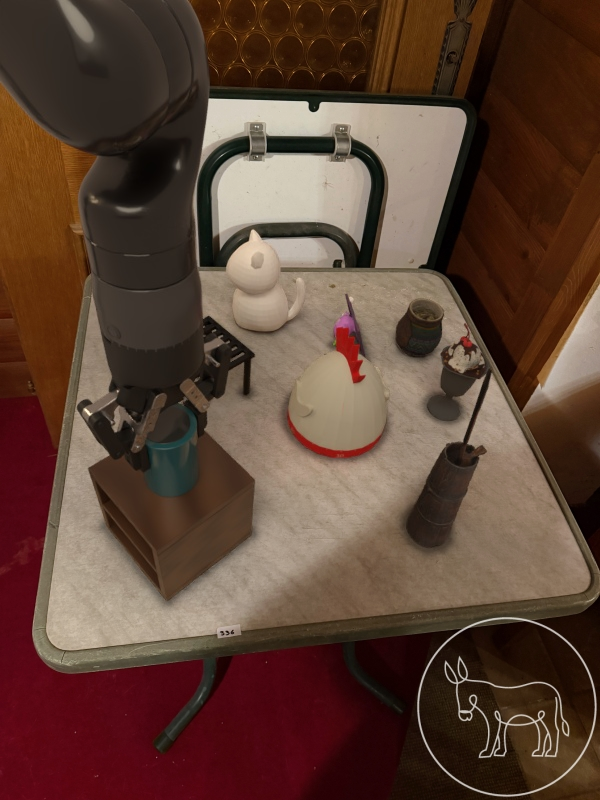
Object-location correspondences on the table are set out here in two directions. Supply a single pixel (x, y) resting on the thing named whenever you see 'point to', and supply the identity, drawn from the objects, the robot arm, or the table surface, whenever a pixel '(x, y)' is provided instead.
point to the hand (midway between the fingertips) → (168, 447)
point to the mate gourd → (420, 327)
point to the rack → (233, 342)
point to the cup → (173, 453)
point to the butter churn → (446, 485)
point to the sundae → (457, 376)
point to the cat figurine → (260, 287)
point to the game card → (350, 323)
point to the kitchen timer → (339, 402)
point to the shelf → (177, 516)
